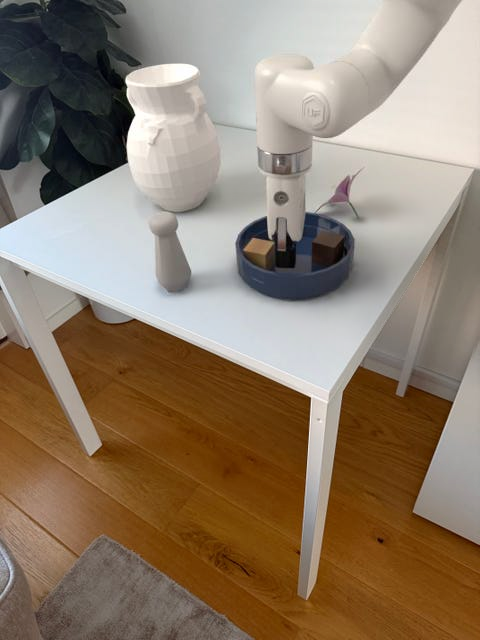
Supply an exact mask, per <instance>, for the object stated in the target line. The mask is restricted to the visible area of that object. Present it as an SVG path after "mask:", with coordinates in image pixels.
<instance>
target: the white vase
mask: <svg viewBox="0 0 480 640" xmlns="http://www.w3.org/2000/svg"><path fill="white" fill-rule="evenodd" d="M200 81H201V71H200V70H199V69H198V67H196V66H194V65H192V64H190V63H164V64H163V63H162V64H156V65H151V66H146V67H142V68H139V69H136V70H133V71H131V72H130V73H128V74H127V75H126V77H125V84H126V86H127V88H126V98H127V101H128V102H129V104H130V106H131V108H132V109H133V112H134V115H135V116H134V117H133V119H132V122H131V124H130V126H129V129H128V132H127V139H126V140H127V141H126V155H127V162H128V166H129V169H130V173H131V176H132V179H133V182H134V183H135V185H136V186H137V188H138V189H139V191H140V192H141V193H142V194H143V195H144V196H145V197H146V198H147V199H148V200H149V201H151V202H153V203H155V204H156V205H157V206H158V207H160V208H161V209H163V210H165V211H166V212H171V213H182V212H187V211H192V210H193V209H196V208H198V207H199V206H201V204H202V203H203V202H204V200H205V199H207V196H208V194H210V192H211V190H212V188H213V187H214V185H215V183H216V181H217V179H218V177H219V172H220V169H221V147H220V146H221V145H220V142H219V138H218V133H217V130H216V128H215V127H216V126H215V125H214V123H213V122H212V120H211V118H210V116H209V115H208V113H207V112H206V110H207V100H206V96H205V94H204V93H203V91H202V90H201V89H200V87H199V86H200Z"/></svg>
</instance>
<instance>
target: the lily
mask: <svg viewBox="0 0 480 640" xmlns="http://www.w3.org/2000/svg"><path fill="white" fill-rule="evenodd" d="M364 169H365V166H363V167H361V169H359V170H358V171H357V172H356V173H355V174H353V175H351V176H350V174H348V175H347V176H345V177H344V179H342V180H341V181H340V183H339V184H338V185H337V186H336V184H335V185H333V186H332V187H330V189H331V190H334V194H333V195H332V196H331V197H330V198H329V199H328V201H326V202H324V203H323V204H321V205H320V206H319V207H318V208H316V210H315V211H314V213H316V214H317V213H318V211H320V210H321V208H323V207H324V206H327V205H329V204H330V205H332V204H338V203H347V204H349V205H350V207H351V209H352V210H353V212H354V214H355V216H356V218H357V220H360V216H359V215H358V212H357V211H356V209H355V207H354V205H353V203H351V200H350V193H351V192H350V191H351V186H352V184H353V182H354V180H355V178H356V177H357V176H358V175H359V173H361V171H362V170H364Z"/></svg>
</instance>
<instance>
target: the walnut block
mask: <svg viewBox="0 0 480 640" xmlns="http://www.w3.org/2000/svg"><path fill="white" fill-rule="evenodd" d="M344 240H345V236H343V235H339V234H335V233H331V232H328V231H324V230H323V231H322V232H321V233H320V234H319V235H318V236H317V237H316V238H315V239H314V240H313V241H312V260H311V262H314V263H317V264H321V265H324V266H328V267H331V266H333V265H335V264H337V263H338V262H339V260H340V259H341V258H342V257H343V251H344Z"/></svg>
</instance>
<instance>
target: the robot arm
mask: <svg viewBox="0 0 480 640" xmlns="http://www.w3.org/2000/svg"><path fill="white" fill-rule="evenodd" d="M462 2H463V0H382V1H381V3H380V5H379V7H378V9H377V11H376V13H375V14H374V16H373V18H372V19H371V21H370V22H369V24H368V25H367V27H366V28H365V30H364V31H363V33H362V34H361V36H360V37H359V38H358V39H357V42H356V43H355V44H354V46H353V47H352V48H351V49H350V51H349V52H348V53H347V54H345V55H342V56H340V57H338V58H337V59H336V58H335V60H332V61H331V62H329V63H326V64H325V65H321V66H318V67H316V68H315V67H314V64H313V62H312V60H311V59H310V58H308V57H307V56H304V55H300V54H295V53H283V54H275V55H270V56H267V57H265V58H262V59H260V61H259V62H258V63H257V64H256V66H255V69H254V72H253V73H254V74H253V76H254V77H253V85H254V106H255V107H254V108H255V126H256V145H257V146H256V147H257V166H258V167H257V169H258V171H259V172H260V174H262V175H264V176H265V177H266V178H265V181H266V183H265V185H266V190H265V193H266V216H267V224H268V236H269V238H270V239H271V240H272V241H273V239H274V237H275V243H276V245H275V266H276V267H277V268H295V264H296V242H294V241H297V242H298V241H300V240H301V238H302V234H303V228H304V221H305V212H307V210H306V208H307V207H306V174H307V173H309V172H310V171H311V169H312V167H313V141H314V140H313V139H314V137H316V138H319V139H332V138H336V137H339V136H340V135H342V134H344V133H345V132H347V131H348V130H349V129H351V128H352V127H353V126H356V125H357V124H358V123H359V122H360V121H362V120H363V119H365V118H366V117H367V116H368V115H370V114H372V113H373V112H374V111H376V110H377V109H378V108H380V107H381V106H382V105H383V104H384V103H385V102H386V100H388V99H389V98H390V96H391V95H392V94H394V92H395V91H396V89H397V88H399V86H400V85H401V83H402V82H403V81H404V80H405V79H406V77H407V76H408V75H409V74H410V73H411V71H412V70H413V69H414V68H415V67H416V66H417V64H418V63H419V61H420V60H421V59H422V57H423V56H424V55H425V54H426V52H427V51H428V50H429V48H430V47H431V45H432V44H433V42H434V41H435V39H436V38H437V37H438V36H439V34H440V33H441V31H442V30H443V28H444V27H445V26H446V25H447V24H448V23H449V21H450V19H451V17H452V16H453V14H454V12H455V11H456V10H457V8H458V6H460V4H461V3H462Z"/></svg>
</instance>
